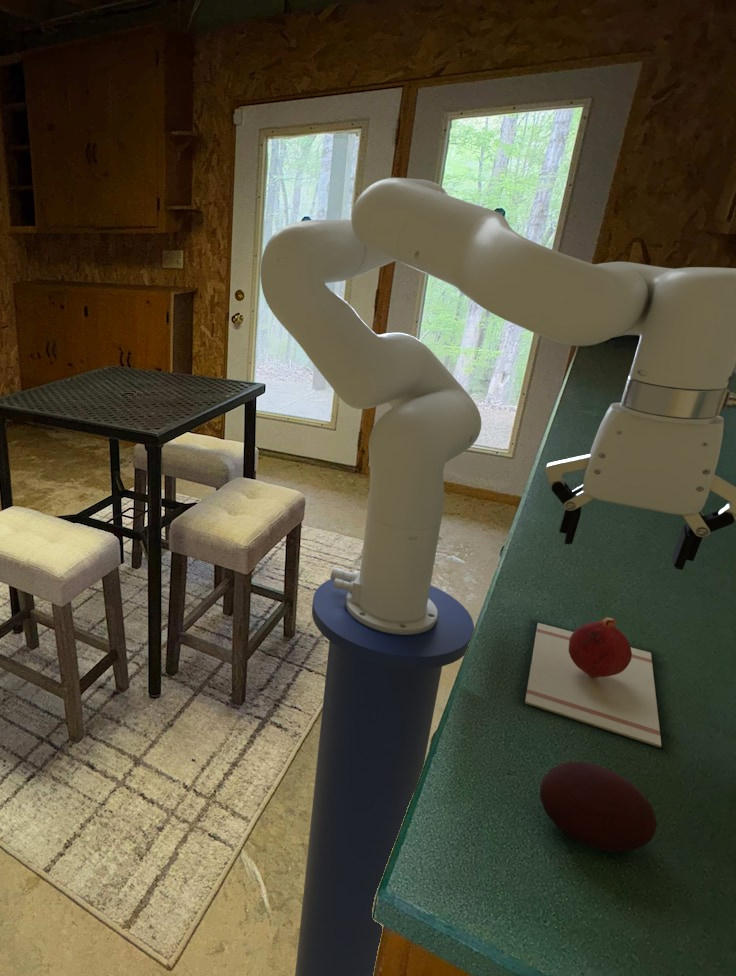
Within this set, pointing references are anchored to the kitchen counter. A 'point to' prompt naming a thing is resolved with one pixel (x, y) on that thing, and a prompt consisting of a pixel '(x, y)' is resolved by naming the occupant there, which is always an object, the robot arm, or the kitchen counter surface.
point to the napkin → (593, 689)
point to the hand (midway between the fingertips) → (620, 551)
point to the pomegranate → (600, 649)
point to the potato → (597, 807)
